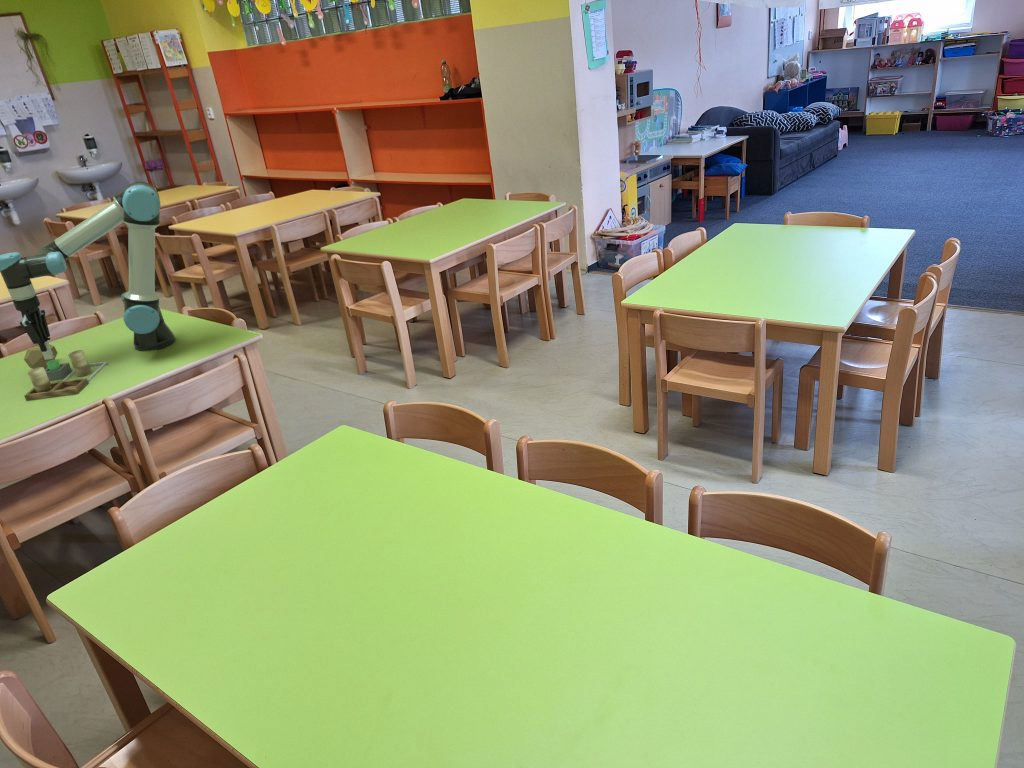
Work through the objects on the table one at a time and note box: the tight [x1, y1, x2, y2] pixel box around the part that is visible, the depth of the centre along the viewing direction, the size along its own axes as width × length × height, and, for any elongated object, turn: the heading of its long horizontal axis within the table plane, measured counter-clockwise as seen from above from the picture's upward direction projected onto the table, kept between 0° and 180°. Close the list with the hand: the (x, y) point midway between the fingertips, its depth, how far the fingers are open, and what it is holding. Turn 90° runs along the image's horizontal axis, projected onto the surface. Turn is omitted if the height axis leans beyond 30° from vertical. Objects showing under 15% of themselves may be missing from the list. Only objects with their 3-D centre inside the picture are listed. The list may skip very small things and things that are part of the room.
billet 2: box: [68, 349, 93, 378], centre depth 263 cm, size 5×5×9 cm
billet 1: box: [27, 367, 52, 393], centre depth 250 cm, size 5×5×9 cm
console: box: [45, 362, 73, 382], centre depth 265 cm, size 7×7×4 cm
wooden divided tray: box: [23, 377, 90, 402], centre depth 252 cm, size 18×9×3 cm, turn 95°
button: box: [46, 359, 61, 371], centre depth 264 cm, size 4×4×6 cm
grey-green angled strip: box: [62, 361, 109, 383], centre depth 265 cm, size 10×16×2 cm, turn 5°
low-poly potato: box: [23, 343, 59, 370], centre depth 276 cm, size 15×11×12 cm
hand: (49, 358), depth 262 cm, fingers closed
